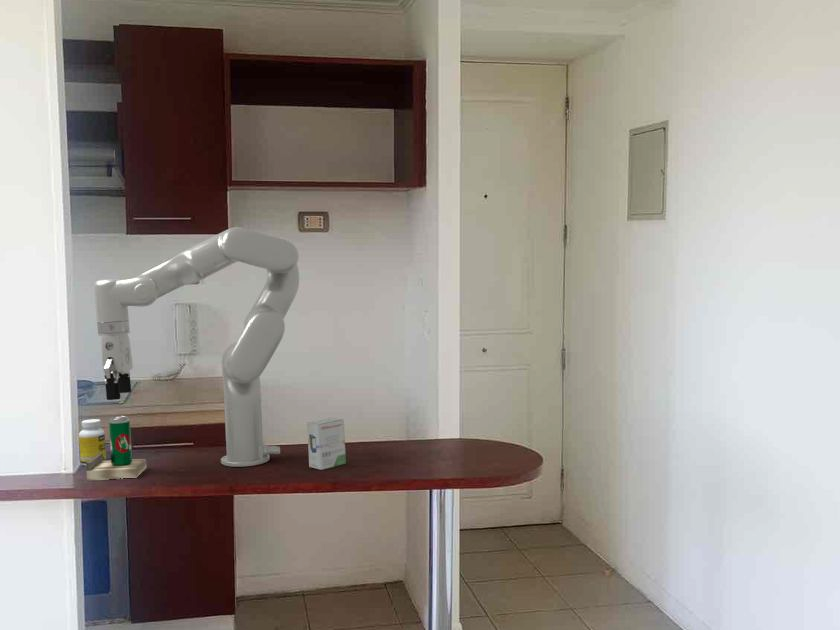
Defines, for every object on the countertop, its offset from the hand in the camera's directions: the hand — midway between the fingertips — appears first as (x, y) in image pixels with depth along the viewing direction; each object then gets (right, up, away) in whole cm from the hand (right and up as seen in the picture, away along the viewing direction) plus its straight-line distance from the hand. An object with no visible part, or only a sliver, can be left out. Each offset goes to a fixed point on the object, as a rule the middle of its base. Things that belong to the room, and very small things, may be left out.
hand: (119, 395), depth 221 cm
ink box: (+52, -19, +4) cm, 55 cm away
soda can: (0, -18, +1) cm, 18 cm away
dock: (-1, -20, +1) cm, 20 cm away
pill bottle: (-12, -20, +14) cm, 27 cm away
